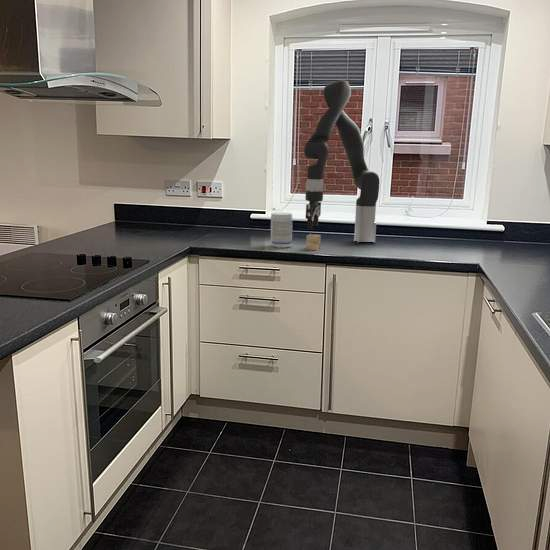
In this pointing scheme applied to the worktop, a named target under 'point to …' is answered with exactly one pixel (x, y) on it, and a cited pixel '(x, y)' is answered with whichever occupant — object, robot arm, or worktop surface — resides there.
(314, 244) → the oak block
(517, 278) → the worktop surface
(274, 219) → the supplement tub
